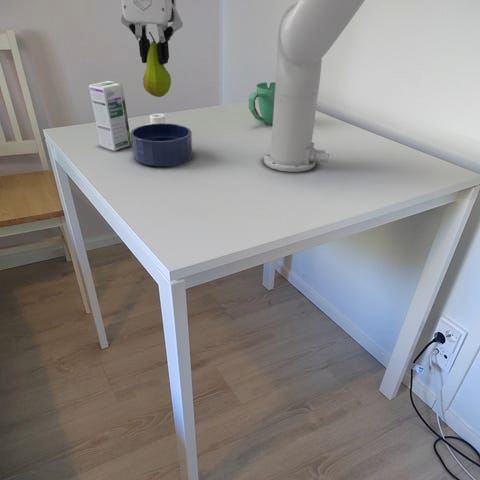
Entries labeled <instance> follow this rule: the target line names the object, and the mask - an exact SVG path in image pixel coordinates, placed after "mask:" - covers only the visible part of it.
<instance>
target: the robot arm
mask: <svg viewBox="0 0 480 480" xmlns="http://www.w3.org/2000/svg"><path fill="white" fill-rule="evenodd" d="M364 2H365V0H298V1H297V2H295V3H293V4H291V5H290V6H289V7H288V8H287V9H286V10H285V11H284V13H283V15H282V16H281V19H280V21H279V25H278V29H277V30H278V33H277V49H276V50H277V51H276V73H275V82H276V85H275V97H274V112H273V125H271V126H272V128H271V143H270V151H268V152H267V153H266V154H264V156H263V163H264V164H265V165H266V166H267V167H268V168H270V169H273V170H275V171H280V172H288V173H299V172H305V171H309V170H312V169H313V168H314V167H315V166H316V162H317V161H319V162H323V163H328V161H329V157H330V153H329V152H326V150H323V149H316V148H315V142H313V136H314V128H315V121H316V112H317V103H318V97H319V90H320V82H321V72H322V62H323V61H322V60H323V57H324V56H326V54H327V53H328V52H329V51H330V49H331V48H332V46H333V45H334V44H335V42H336V41H337V40H338V39H339V38H340V35H342V33H343V32H344V30H345V29H346V27H347V26H348V25H349V23H350V22H351V21H352V19H353V18H354V16H355V15H356V13H358V11H359V9H361V6H362V5H363V4H364ZM121 10H122V15H121V20H120V22H121V24H122V25H123V26H125V27H126V28H127V29H129V30H130V31H131V33H132V34H133V35H134V37H135V39H136V40H137V41H138V47H139V48H138V49H139V56H140V58H141V63H142V64H146V63H147V55H148V50H149V47H150V44H151V41H150V39H149V38H148V25H156V30H157V35H158V42H156V43H157V48H158V60H159V64H160V65H163V64H164V65H165V64H168V63H169V60H170V51H169V50H170V49H169V41H170V40H171V38H172V36H173V35H174V34H175V32H177V31H178V30H180V29H181V28H182V27H183V26H184V23H183V21H182V19H181V17H180V15H179V12H178V10H177V0H121ZM169 23H171V24H170V25H169Z"/></svg>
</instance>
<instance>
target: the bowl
mask: <svg viewBox="0 0 480 480" xmlns="http://www.w3.org/2000/svg"><path fill="white" fill-rule="evenodd" d="M167 123H168V122H166V123H158V124H150V123H147V124H148V125H146V124H143V125H140V126H137V127H135V128H134V129H132V130H131V131H130V137H131V143H132V145H131V148H132V155H133V159H134V160H135V161H137V162H138V163H141V164H144V165H147V166H153V167H170V166H176V165H179V164H183V163H185V162H188V161H189V160H191V159H192V158H193V138H192V137H193V135H192V130H191V128H189V127H187V126H185V125H181V124H176V123H170V124H167Z"/></svg>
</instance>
